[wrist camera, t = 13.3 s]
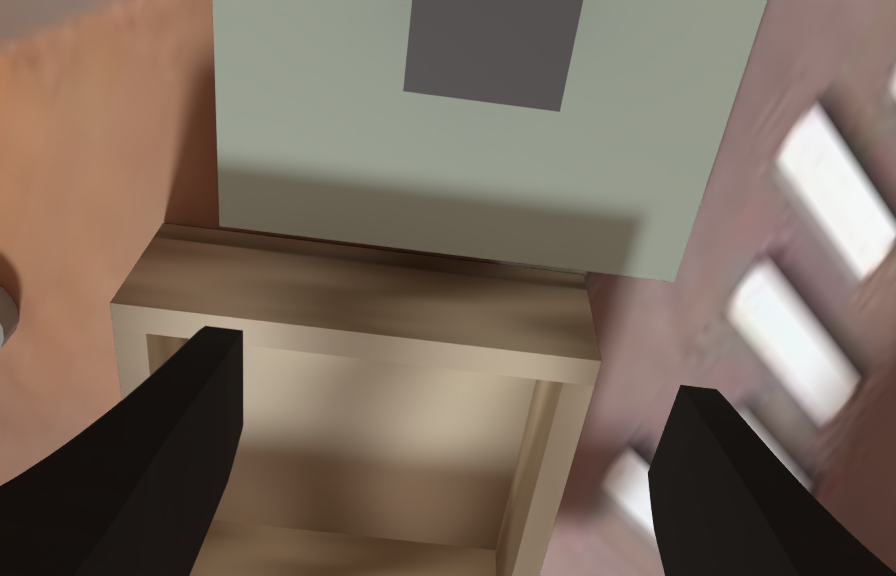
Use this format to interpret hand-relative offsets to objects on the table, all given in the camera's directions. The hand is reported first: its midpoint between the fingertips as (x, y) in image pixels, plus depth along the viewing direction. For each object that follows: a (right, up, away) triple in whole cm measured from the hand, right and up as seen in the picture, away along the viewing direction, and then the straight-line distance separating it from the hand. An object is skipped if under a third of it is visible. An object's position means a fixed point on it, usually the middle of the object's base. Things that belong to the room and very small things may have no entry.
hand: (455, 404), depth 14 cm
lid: (+1, +9, +6) cm, 11 cm away
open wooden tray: (-3, -2, +13) cm, 14 cm away
